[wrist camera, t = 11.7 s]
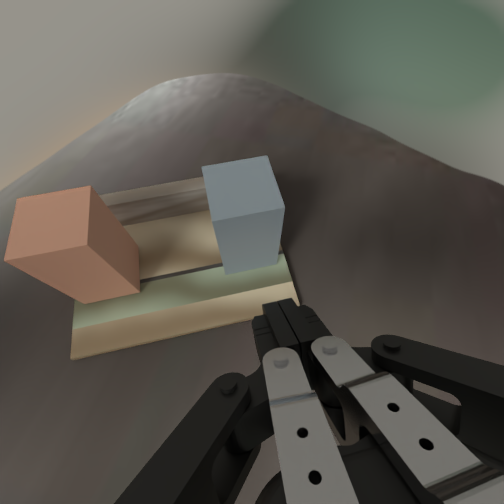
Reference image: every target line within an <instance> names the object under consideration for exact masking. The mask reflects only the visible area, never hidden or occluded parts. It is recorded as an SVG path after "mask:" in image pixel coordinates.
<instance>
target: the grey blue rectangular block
mask: <svg viewBox="0 0 504 504" xmlns="http://www.w3.org/2000/svg"><path fill="white" fill-rule="evenodd" d="M202 172H203V177H204V182H205V188H206V193H207V198H208V203H209V209H210V214H211V219H212V224H213V228H214V232H215V235H216V239H217V243H218V247H219V251H220V255H221V259H222V263H223V267H224V271H225V275H228V274H233V273H237V272H242V271H247V270H251V269H256V268H261V267H266V266H270V265H275V264H277V259H278V252H279V245H280V239H281V232H282V225H283V219H284V212H285V205H284V202H283V200H282V197H281V194H280V191H279V188H278V185H277V182H276V179H275V177H274V174H273V171H272V168H271V165H270V162H269V159H268V157H267V155H266V156H260V157H254V158H249V159H243V160H237V161H232V162H226V163H220V164H215V165H209V166H203V167H202Z"/></svg>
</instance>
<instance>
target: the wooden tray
mask: <svg viewBox="0 0 504 504" xmlns="http://www.w3.org/2000/svg"><path fill="white" fill-rule="evenodd" d="M99 197H100V198H101V199H102V200H103V202H104V203H105V204H106V205H107V207H108V208H109V209H110V211H111V212H112V213H113V214H114V216H115V217H116V218H117V219H118V221H119V222H120V223H121V225H122V226H123V227H124V228H125V230H126V231H127V232H128V233H129V235H130V236H131V237H132V239H133V240H134V241H135V242H136V244H137V245H138V246H139V273H140V293H135V294H130V295H126V296H121V297H116V298H111V299H107V300H102V301H97V302H93V303H88V304H83V303H81V302H79V301H77V300H76V299H75V302H74V315H73V328H72V329H73V330H72V343H71V356H70V359H72V360H77V359H81V358H85V357H90V356H94V355H99V354H103V353H107V352H112V351H116V350H120V349H125V348H129V347H133V346H138V345H142V344H147V343H151V342H155V341H160V340H164V339H168V338H173V337H177V336H181V335H186V334H190V333H195V332H199V331H203V330H208V329H212V328H216V327H221V326H225V325H229V324H234V323H238V322H243V321H247V320H251V319H253V318H254V316H259V315H263V310H262V304H266V303H270V302H274V301H278V300H283V299H287V298H292V299H293V300H294V302H295V303H296V305H297V306H300V304H299V301H298V298H297V295H296V291H295V288H294V285H293V282H292V279H291V275H290V272H289V269H288V266H287V263H286V259H285V256H284V253H283V250H282V247H281V244H280V245H279V252H278V259H277V264H275V265H270V266H266V267H261V268H256V269H251V270H247V271H242V272H237V273H233V274H228V275H225V271H224V267H223V263H222V259H221V255H220V251H219V247H218V243H217V239H216V235H215V232H214V228H213V224H212V219H211V214H210V209H209V203H208V198H207V193H206V188H205V182H204V177H198V178H192V179H187V180H181V181H176V182H170V183H165V184H159V185H153V186H148V187H142V188H137V189H131V190H125V191H120V192H114V193H109V194H103V195H99Z"/></svg>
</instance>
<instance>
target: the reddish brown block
mask: <svg viewBox="0 0 504 504" xmlns="http://www.w3.org/2000/svg"><path fill="white" fill-rule="evenodd" d="M4 261H5V262H7V263H8V264H10V265H12V266H14V267H16V268H18V269H20V270H22V271H23V272H25V273H27V274H29V275H31V276H33V277H35V278H36V279H38V280H40V281H42V282H44V283H46V284H48V285H50V286H51V287H53V288H55V289H57V290H59V291H61V292H63V293H64V294H66V295H68V296H70V297H72V298H74V299H76V300H77V301H79V302H81V303H83V304H88V303H93V302H97V301H102V300H107V299H111V298H116V297H121V296H126V295H130V294H135V293H140V273H139V246H138V245H137V244H136V242H135V241H134V240H133V239H132V237H131V236H130V235H129V233H128V232H127V231H126V230H125V228H124V227H123V226H122V225H121V223H120V222H119V221H118V219H117V218H116V217H115V216H114V214H113V213H112V212H111V211H110V209H109V208H108V207H107V205H106V204H105V203H104V202H103V200H102V199H101V198H100V197H99V195H98V194H97V193H96V191H95V190H94V189H93V188H92V186H85V187H79V188H73V189H68V190H62V191H56V192H51V193H45V194H39V195H33V196H28V197H22V198H17V202H16V207H15V212H14V216H13V221H12V225H11V230H10V235H9V239H8V244H7V248H6V253H5V257H4Z"/></svg>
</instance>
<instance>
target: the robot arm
mask: <svg viewBox="0 0 504 504" xmlns="http://www.w3.org/2000/svg"><path fill="white" fill-rule="evenodd" d="M262 310H263V315H259V316H254V318H253V321H252V328H253V333H254V338H255V344H256V349H257V353H258V356H259V360H260V363H261V365H260V367H259V368H258V369H257V370H256V371H255V372H254V373H253V374H251V375H249V376H248V377H245V376H244V375H242V374H240V373H227V374H224V375H222V376H220V377H218V378H217V379H216V380H215V381H214V382H213V383H212V384H211V385H210V386H209V388H208V389H207V390H206V391H205V393H204V394H203V395H202V396H201V398H200V399H199V400H198V401H197V402H196V404H195V405H194V406H193V407H192V409H191V410H190V411H189V412H188V413H187V415H186V416H185V417H184V418H183V420H182V421H181V422H180V423H179V424H178V426H177V427H176V428H175V429H174V431H173V432H172V433H171V434H170V436H169V437H168V438H167V439H166V440H165V442H164V443H163V444H162V445H161V447H160V448H159V449H158V450H157V451H156V453H155V454H154V455H153V456H152V458H151V459H150V460H149V461H148V463H147V464H146V465H145V466H144V467H143V469H142V470H141V471H140V472H139V474H138V475H137V476H136V477H135V478H134V480H133V481H132V482H131V483H130V485H129V486H128V487H127V488H126V490H125V491H124V492H123V493H122V494H121V496H120V497H119V498H118V499H117V501H116V502H115V503H114V504H234V503H235V501H236V499H237V497H238V494H239V492H240V490H241V488H242V486H243V484H244V482H245V480H246V478H247V476H248V474H249V472H250V470H251V468H252V466H253V464H254V462H255V460H256V458H257V456H258V454H259V451H260V448H261V443H262V442H263V441H265V440H266V439H267V438H269V437H270V436H272V435H273V434H275V439H276V444H277V450H278V456H279V462H280V468H281V471H280V472H279V473H277V474H276V475H275V476H274V477H273V478H272V479H271V480H270V481H269V482H268V483H267V484H266V486H265V487H264V489H263V490H262V492H261V493H260V495H259V497H258V499H257V501H256V503H255V504H504V366H502V365H499V364H495V363H492V362H488V361H484V360H481V359H477V358H474V357H470V356H467V355H463V354H460V353H456V352H452V351H449V350H445V349H442V348H438V347H435V346H431V345H428V344H424V343H421V342H417V341H413V340H410V339H406V338H403V337H399V336H395V335H381V336H378V337H376V338H374V339H373V340H372V342H371V347H350V346H349V345H348V344H347V343H346V342H345V341H344V340H342V339H340V338H338V337H334V336H332V334H331V333H330V332H329V330H328V329H327V328H326V326H325V325H324V324H323V322H322V321H321V320H320V318H319V317H318V316H317V315H316V313H315V312H314V311H313V309H311V308H309V307H308V306H306V305H301V306H297V305H296V303H295V302H294V300H293V299H292V298H287V299H283V300H278V301H274V302H270V303H266V304H262ZM413 380H415V381H418V382H421V383H423V384H426V385H429V386H432V387H434V388H437V389H440V390H442V391H445V392H448V393H450V394H452V395H454V396H455V397H456V398H457V399H458V400H459V401H460V403H461V405H462V406H458V405H454V404H451V403H448V402H446V401H443V400H441V399H438V398H436V397H433V396H430V395H428V394H425V393H423V392H420V391H418V390H415V389H413ZM312 390H315V392H316V393H315V392H314V393H312ZM328 424H329V425H328ZM329 426H330V427H329ZM330 428H331V429H332V431H333V433H334V435H335V436H336V438H337V440H338V441H339V443H340V445H341V446H337V445H336V443H335V440H334V437H333V435H332V432H331V430H330Z"/></svg>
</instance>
